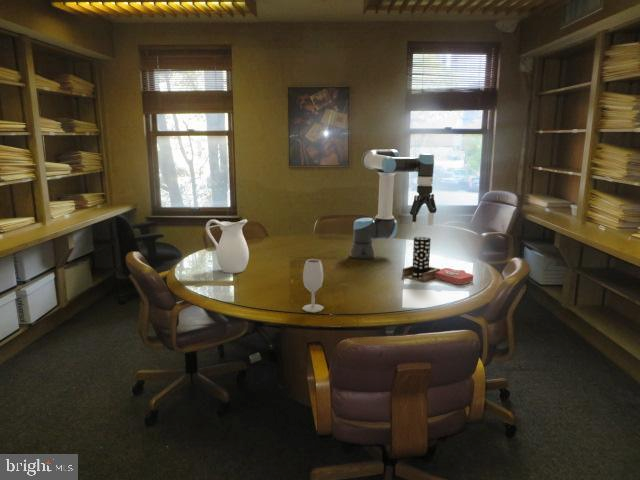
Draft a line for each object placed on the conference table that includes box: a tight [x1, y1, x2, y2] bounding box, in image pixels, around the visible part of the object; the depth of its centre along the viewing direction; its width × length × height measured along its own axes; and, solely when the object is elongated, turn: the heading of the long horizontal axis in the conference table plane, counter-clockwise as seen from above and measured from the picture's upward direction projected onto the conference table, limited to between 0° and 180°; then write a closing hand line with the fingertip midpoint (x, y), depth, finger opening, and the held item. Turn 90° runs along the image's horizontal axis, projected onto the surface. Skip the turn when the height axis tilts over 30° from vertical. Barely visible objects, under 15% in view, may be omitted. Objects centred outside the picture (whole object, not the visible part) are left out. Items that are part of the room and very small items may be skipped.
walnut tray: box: [401, 265, 441, 283], centre depth 248 cm, size 13×14×4 cm
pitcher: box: [205, 218, 250, 274], centre depth 256 cm, size 24×17×28 cm
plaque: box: [435, 267, 474, 285], centre depth 244 cm, size 18×4×15 cm
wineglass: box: [302, 258, 325, 313], centre depth 197 cm, size 9×9×21 cm
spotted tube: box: [412, 236, 432, 278], centre depth 246 cm, size 8×8×20 cm
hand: (422, 226), depth 243 cm, fingers open, 13 cm apart
